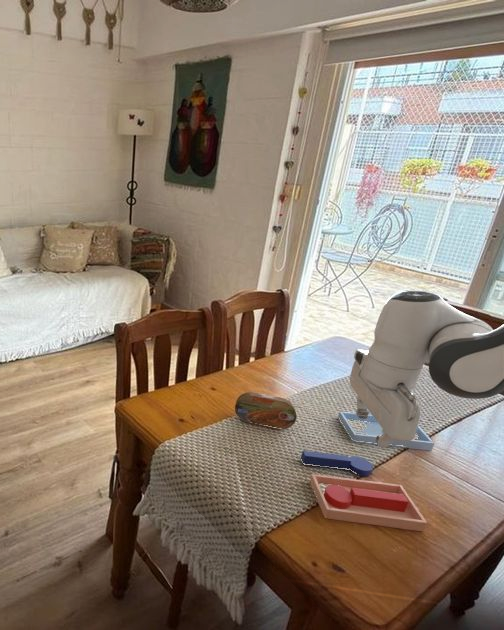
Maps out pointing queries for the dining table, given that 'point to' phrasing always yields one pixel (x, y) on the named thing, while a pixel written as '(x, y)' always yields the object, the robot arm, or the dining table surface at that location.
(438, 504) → the dining table surface
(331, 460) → the blue spoon
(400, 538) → the dining table surface
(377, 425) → the blue tray
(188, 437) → the dining table surface
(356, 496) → the red spoon
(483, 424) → the dining table surface
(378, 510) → the pink tray
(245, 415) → the tin
